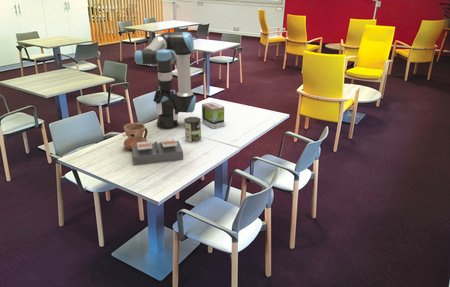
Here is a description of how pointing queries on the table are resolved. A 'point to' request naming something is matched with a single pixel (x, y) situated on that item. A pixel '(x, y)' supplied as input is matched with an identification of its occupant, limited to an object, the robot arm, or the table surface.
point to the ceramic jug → (134, 134)
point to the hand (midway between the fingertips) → (167, 116)
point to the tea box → (213, 115)
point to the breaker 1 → (144, 145)
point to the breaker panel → (157, 154)
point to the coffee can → (192, 129)
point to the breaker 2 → (168, 142)
